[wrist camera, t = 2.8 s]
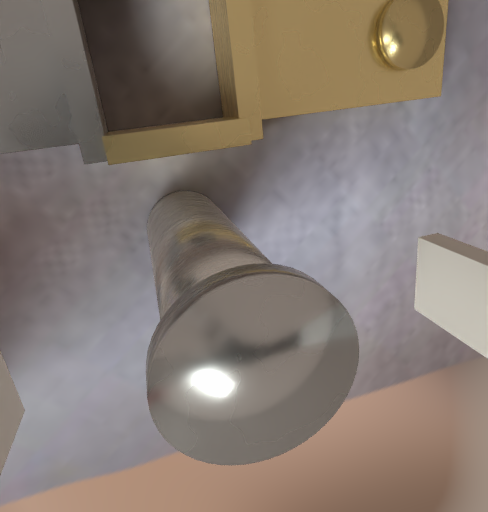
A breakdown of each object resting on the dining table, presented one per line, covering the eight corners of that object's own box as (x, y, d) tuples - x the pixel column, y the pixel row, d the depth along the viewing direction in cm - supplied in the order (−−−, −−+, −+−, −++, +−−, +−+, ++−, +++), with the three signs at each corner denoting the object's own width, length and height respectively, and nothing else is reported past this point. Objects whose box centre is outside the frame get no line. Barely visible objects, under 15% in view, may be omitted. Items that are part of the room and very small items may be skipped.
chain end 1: (-275, -27, 13) (-462, -93, 9) (203, -43, 16) (227, -95, 12) (-162, 192, 16) (-264, 219, 12) (225, 138, 19) (251, 144, 15)
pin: (126, 189, 19) (122, 308, 7) (225, 173, 20) (359, 255, 8) (147, 280, 21) (171, 491, 9) (236, 261, 22) (358, 428, 10)
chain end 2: (68, -39, 15) (46, -94, 11) (422, -50, 19) (503, -96, 15) (113, 153, 18) (108, 165, 14) (413, 112, 22) (479, 111, 17)
